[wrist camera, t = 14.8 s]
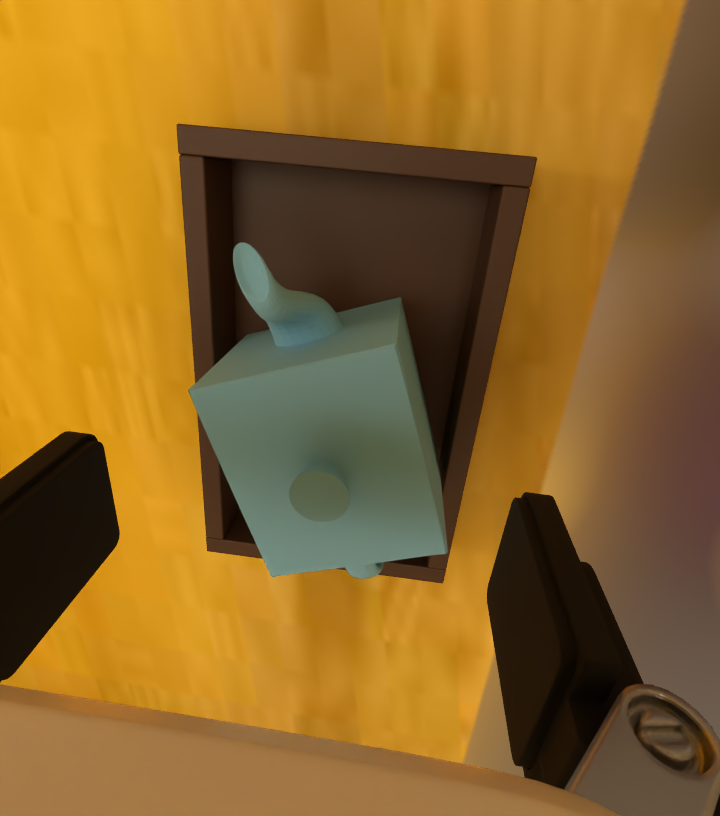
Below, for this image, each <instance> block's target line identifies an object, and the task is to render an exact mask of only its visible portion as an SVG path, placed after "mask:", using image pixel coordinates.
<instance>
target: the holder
mask: <svg viewBox="0 0 720 816" xmlns="http://www.w3.org/2000/svg"><path fill="white" fill-rule="evenodd" d="M177 137H178V151H179V154H181V155H180V156H179V161H180V175H181V189H182V203H183V217H184V231H185V245H186V259H187V273H188V287H189V301H190V315H191V329H192V343H193V357H194V371H195V383H196V382H198V381H199V380H200V379H201V378H202V377H203V376H204V375H205V374H206V373H207V372H208V371H209V370H210V369H211V368H212V367H213V366H214V365H215V364H217V363H218V362H219V361H220V360H221V359H222V358H223V357H224V356H225V355H226V354H227V353H228V352H229V351H230V350H231V349H232V348H233V347H234V346H236V345H237V344H238V343H239V342H240V341H241V340H242V339H243V338H244V337H245V336H246V335H248V334H252V333H256V332H260V331H264V330H268V329H270V328H269V326H268V324H267V322H266V321H265V320H264V319H262V318H261V317H260V316H259V315H258V314H257V313H256V312H255V310H254V309H253V308H252V306H251V305H250V303H249V302H248V300H247V299H246V297H245V296H244V294H243V292H242V290H241V288H240V285H239V283H238V280H237V277H236V274H235V270H234V265H233V251H234V248H235V246H236V245H237V244H239V243H247V244H249V245H251V246H252V247H253V248H254V249H255V250H256V251H257V252H258V253H259V254H260V256H261V257H262V258H263V260H264V261H265V263H266V265H267V267H268V268H269V270H270V272H271V273H272V275H273V277H274V278H275V280H276V281H277V282H278V283H279V284H280V285H281V286H282V287H284V288H286V289H288V290H293V291H302V292H307V293H311V294H314V295H316V296H318V297H320V298H323V299H324V300H325V301H326V302H327V303H328V304H330V306H331V307H332V308H333V309H334V311H335V312H336V313H337V312H342V311H346V310H350V309H354V308H358V307H362V306H366V305H370V304H374V303H378V302H382V301H386V300H390V299H394V298H399V297H401V299H402V304H403V308H404V312H405V316H406V321H407V325H408V329H409V334H410V338H411V342H412V346H413V351H414V355H415V359H416V364H417V368H418V372H419V377H420V381H421V385H422V390H423V394H424V398H425V403H426V407H427V411H428V416H429V420H430V424H431V429H432V433H433V438H434V442H435V446H436V451H437V455H438V459H439V465H440V476H441V486H442V496H443V507H444V517H445V528H446V538H447V548H448V553H446V554H438V555H430V556H422V557H415V558H408V559H401V560H394V561H387V562H383V568H382V571H381V572H380V573H379V574H378V575H386V576H393V577H400V578H407V579H415V580H422V581H429V582H436V583H443V581H444V576H445V572H446V567H447V562H448V558H449V553H450V549H451V544H452V540H453V535H454V531H455V526H456V522H457V517H458V513H459V508H460V504H461V499H462V495H463V490H464V486H465V481H466V477H467V472H468V468H469V463H470V459H471V454H472V450H473V445H474V441H475V436H476V432H477V427H478V423H479V418H480V414H481V409H482V404H483V400H484V395H485V391H486V386H487V382H488V377H489V373H490V368H491V364H492V359H493V355H494V350H495V346H496V341H497V337H498V332H499V328H500V323H501V319H502V314H503V310H504V305H505V301H506V296H507V292H508V287H509V283H510V278H511V274H512V269H513V265H514V260H515V256H516V251H517V247H518V242H519V237H520V233H521V228H522V224H523V219H524V215H525V210H526V206H527V201H528V197H529V192H530V188H529V187H531V184H532V179H533V175H534V170H535V166H536V161H537V158H536V157H531V156H520V155H509V154H498V153H488V152H477V151H466V150H455V149H445V148H434V147H423V146H412V145H401V144H391V143H380V142H369V141H358V140H348V139H337V138H326V137H315V136H305V135H294V134H283V133H272V132H262V131H251V130H240V129H229V128H219V127H208V126H197V125H186V124H177ZM198 428H199V442H200V456H201V470H202V484H203V498H204V512H205V526H206V536H207V537H206V542H207V551H211V552H218V553H225V554H233V555H240V556H247V557H255V558H262V556H261V553H260V551H259V549H258V547H257V545H256V543H255V540H254V538H253V536H252V534H251V532H250V529H249V527H248V525H247V523H246V521H245V518H244V516H243V514H242V512H241V510H240V507H239V505H238V503H237V501H236V499H235V496H234V494H233V492H232V490H231V487H230V485H229V483H228V481H227V478H226V476H225V474H224V472H223V469H222V467H221V465H220V463H219V460H218V458H217V456H216V454H215V451H214V449H213V447H212V445H211V442H210V440H209V438H208V436H207V433H206V431H205V429H204V426H203V424H202V422H201V419H200V417H199V415H198ZM262 559H263V558H262ZM335 569H342V570H346V569H345V567H343V568H335Z"/></svg>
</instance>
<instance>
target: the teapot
mask: <svg viewBox="0 0 720 816" xmlns="http://www.w3.org/2000/svg"><path fill="white" fill-rule="evenodd" d="M233 265H234V270H235V274H236V277H237V280H238V283H239V285H240V288H241V290H242V292H243V294H244V296H245V297H246V299H247V300H248V302H249V303H250V305H251V306H252V308H253V309H254V310H255V312H256V313H257V314H258V315H259V316H260V317H261V318H262V319H264V320H265V321H266V322H267V324H268V326H269V328H270V329H268V330H264V331H260V332H256V333H252V334H248V335H246V336H245V337H244V338H243V339H242V340H241V341H240V342H239V343H238V344H237V345H236V346H234V347H233V348H232V349H231V350H230V351H229V352H228V353H227V354H226V355H225V356H224V357H223V358H222V359H221V360H220V361H219V362H218V363H217V364H215V365H214V366H213V367H212V368H211V369H210V370H209V371H208V372H207V373H206V374H205V375H204V376H203V377H202V378H201V379H200V380H199V381H198V382H196V383H195V384H194V385H193V386H192V387H191V388H190V389H189V390H188V391H189V393H190V396H191V398H192V401H193V403H194V405H195V408H196V410H197V413H198V415H199V417H200V419H201V422H202V424H203V426H204V429H205V431H206V433H207V436H208V438H209V440H210V442H211V445H212V447H213V449H214V451H215V454H216V456H217V458H218V460H219V463H220V465H221V467H222V469H223V472H224V474H225V476H226V478H227V481H228V483H229V485H230V487H231V490H232V492H233V494H234V496H235V499H236V501H237V503H238V505H239V507H240V510H241V512H242V514H243V516H244V518H245V521H246V523H247V525H248V527H249V529H250V532H251V534H252V536H253V538H254V540H255V543H256V545H257V547H258V549H259V551H260V553H261V556H262V558H263V560H264V562H265V564H266V566H267V568H268V570H269V572H270V574H271V576H272V577H275V576H280V575H288V574H295V573H303V572H312V571H319V570H327V569H335V568H343V567H345V569H346V571H347V572H348V573H349V574H350V575H351V576H352V577H355V578H359V579H366V578H371V577H374V576H376V575H378V574H379V573H380V572H381V571H382V568H383V562H387V561H394V560H401V559H408V558H415V557H422V556H430V555H438V554H446V553H448V548H447V538H446V528H445V517H444V507H443V496H442V486H441V476H440V465H439V459H438V455H437V451H436V446H435V442H434V438H433V433H432V429H431V424H430V420H429V416H428V411H427V407H426V403H425V398H424V394H423V390H422V385H421V381H420V377H419V372H418V368H417V364H416V359H415V355H414V351H413V346H412V342H411V338H410V334H409V329H408V325H407V321H406V316H405V312H404V308H403V304H402V299H401V297H399V298H394V299H390V300H386V301H382V302H378V303H374V304H370V305H366V306H362V307H358V308H354V309H350V310H346V311H342V312H337V313H336V312H335V311H334V309H333V308H332V307H331V306H330V304H328V303H327V302H326V301H325V300H324V299H323V298H320V297H318V296H316V295H314V294H311V293H307V292H302V291H293V290H288V289H286V288H284V287H282V286H281V285H280V284H279V283H278V282H277V281H276V280H275V278H274V277H273V275H272V273H271V272H270V270H269V268H268V267H267V265H266V263H265V261H264V260H263V258H262V257H261V256H260V254H259V253H258V252H257V251H256V250H255V249H254V248H253V247H252V246H251V245H249V244H247V243H239V244H237V245H236V246H235V248H234V251H233Z"/></svg>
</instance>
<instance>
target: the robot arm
mask: <svg viewBox="0 0 720 816" xmlns="http://www.w3.org/2000/svg"><path fill="white" fill-rule="evenodd" d="M119 534H120V533H119V526H118V521H117V515H116V510H115V505H114V499H113V494H112V489H111V483H110V478H109V473H108V467H107V462H106V457H105V451H104V447H103V445H102V443H101V442H98V441H97V438H96V437H95V436H94V435H92V434H85V433H77V432H70V431H68V432H64V433H62V434H60V435H59V436H58V437H56V438H55V439H54V440H52V441H51V442H50V443H48V444H47V445H46V446H44V447H43V448H41V449H40V450H39V451H37V452H36V453H35V454H33V455H32V456H31V457H29V458H28V459H27V460H25V461H24V462H23V463H21V464H20V465H18V466H17V467H16V468H14V469H13V470H12V471H10V472H9V473H8V474H6V475H5V476H4V477H2V478H1V479H0V682H1V681H2V680H5V679H8V678H9V677H11V676H12V675H13V674H14V673H15V672H16V670H17V669H18V668H19V667H20V665H21V664H22V663H23V662H24V660H25V659H26V658H27V657H28V656H29V654H30V653H31V652H32V651H33V649H34V648H35V647H36V646H37V644H38V643H39V642H40V641H41V639H42V638H43V637H44V636H45V634H46V633H47V632H48V631H49V629H50V628H51V627H52V626H53V624H54V623H55V622H56V621H57V619H58V618H59V617H60V616H61V614H62V613H63V612H64V611H65V609H66V608H67V607H68V606H69V604H70V603H71V602H72V601H73V599H74V598H75V597H76V596H77V594H78V593H79V592H80V591H81V589H82V588H83V587H84V586H85V584H86V583H87V582H88V581H89V579H90V578H91V577H92V576H93V574H94V573H95V572H96V571H97V569H98V568H99V567H100V566H101V564H102V563H103V562H104V561H105V559H106V558H107V557H108V556H109V554H110V553H111V552H112V551H113V549H114V548H115V547H116V545H117V543H118V540H119ZM487 603H488V610H489V616H490V622H491V629H492V635H493V641H494V647H495V654H496V660H497V665H498V672H499V678H500V684H501V691H502V696H503V704H504V710H505V715H506V722H507V729H508V735H509V741H510V747H511V754H512V758H513V761H514V764H515V765H516V766H522V767H523V770H524V776H525V778H524V777H520V776H516V775H512V774H508V773H504V772H500V771H495V770H491V769H487V768H482V767H477V766H471V765H466V764H461V763H456V762H451V761H445V760H440V759H435V758H430V757H425V756H419V755H414V754H409V753H404V752H399V751H393V750H387V749H382V748H376V747H370V746H364V745H358V744H353V743H347V742H341V741H335V740H330V739H324V738H318V737H312V736H306V735H301V734H295V733H289V732H283V731H278V730H272V729H266V728H260V727H254V726H248V725H242V724H236V723H231V722H225V721H219V720H213V719H207V718H201V717H195V716H189V715H183V714H177V713H171V712H165V711H159V710H153V709H147V708H141V707H135V706H129V705H123V704H117V703H111V702H105V701H99V700H93V699H87V698H80V697H74V696H68V695H62V694H56V693H49V692H43V691H37V690H31V689H24V688H18V687H12V686H6V685H0V816H720V739H719V738H718V736H717V734H716V733H715V731H714V729H713V728H712V726H711V725H710V724H709V723H708V722H707V721H706V719H705V718H704V717H703V716H702V715H701V714H700V713H699V712H698V711H697V710H696V709H694V708H693V707H692V706H691V705H690V704H689V703H687V702H686V701H685V700H683V699H682V698H680V697H679V696H677V695H675V694H673V693H671V692H670V691H668V690H666V689H663V688H660V687H657V686H654V685H648V684H644V683H643V681H642V679H641V677H640V675H639V672H638V670H637V667H636V665H635V663H634V661H633V658H632V656H631V654H630V652H629V649H628V647H627V645H626V642H625V640H624V638H623V636H622V633H621V631H620V629H619V626H618V624H617V622H616V620H615V617H614V615H613V613H612V610H611V608H610V606H609V604H608V601H607V599H606V597H605V595H604V592H603V590H602V588H601V586H600V583H599V581H598V579H597V576H596V574H595V572H594V570H593V568H592V567H591V565H589V564H588V563H586V562H580V560H579V558H578V555H577V553H576V550H575V548H574V546H573V543H572V541H571V538H570V536H569V534H568V531H567V529H566V526H565V524H564V522H563V519H562V516H561V514H560V512H559V509H558V507H557V505H556V502H555V500H554V498H553V497H552V496H550V495H543V494H535V493H528V492H525V493H524V494H523V495H522V497H521V498H514V499H513V501H512V504H511V508H510V511H509V515H508V518H507V522H506V525H505V528H504V532H503V535H502V539H501V542H500V546H499V549H498V553H497V556H496V560H495V563H494V567H493V570H492V574H491V577H490V581H489V584H488V590H487Z"/></svg>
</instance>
